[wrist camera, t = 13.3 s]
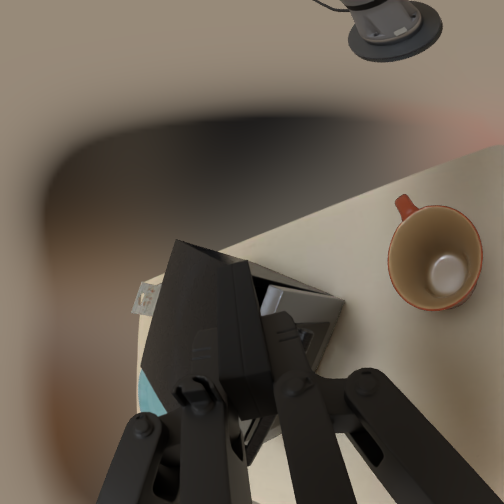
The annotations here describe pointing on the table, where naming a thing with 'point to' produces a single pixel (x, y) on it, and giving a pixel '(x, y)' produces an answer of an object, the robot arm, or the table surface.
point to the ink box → (147, 299)
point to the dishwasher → (192, 312)
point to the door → (313, 340)
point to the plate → (148, 397)
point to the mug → (434, 256)
